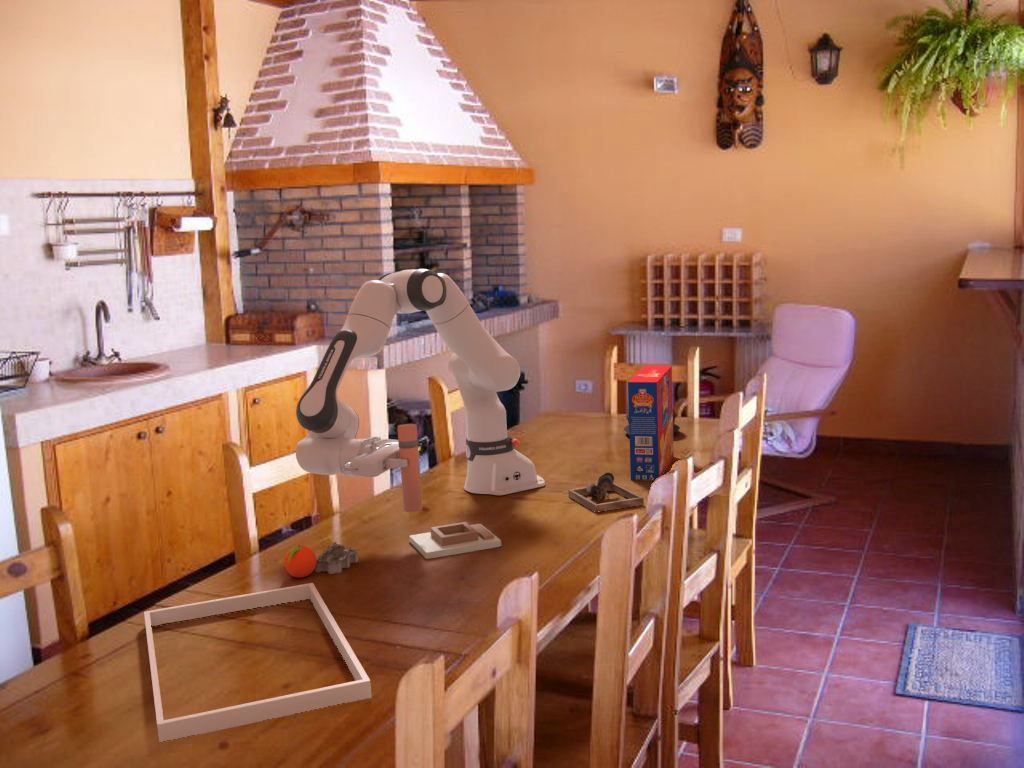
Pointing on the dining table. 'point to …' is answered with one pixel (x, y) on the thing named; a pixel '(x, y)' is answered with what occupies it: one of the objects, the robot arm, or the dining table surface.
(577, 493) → the figurine display rim
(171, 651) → the dining table surface
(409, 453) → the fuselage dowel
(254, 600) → the frame
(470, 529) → the cradle jig
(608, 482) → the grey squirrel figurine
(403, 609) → the dining table surface
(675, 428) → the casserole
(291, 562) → the clementine
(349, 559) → the grey castle model
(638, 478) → the blue cardboard box
